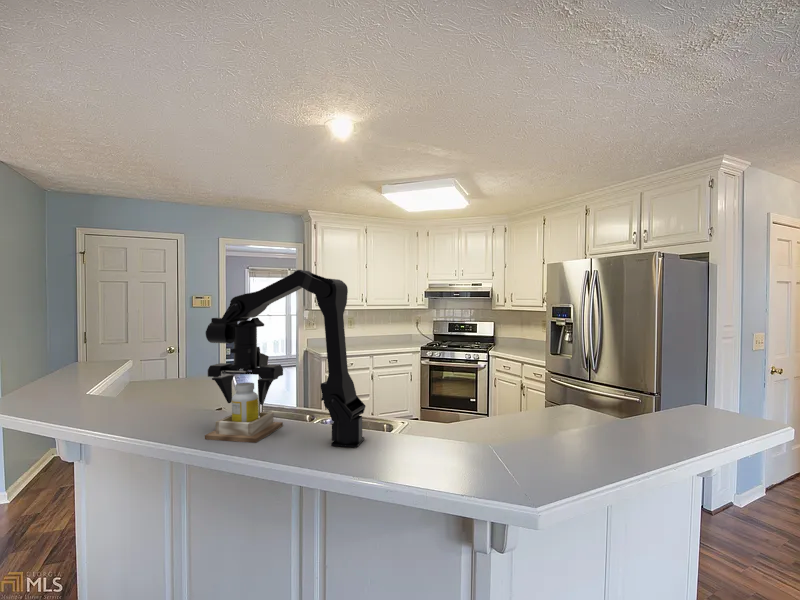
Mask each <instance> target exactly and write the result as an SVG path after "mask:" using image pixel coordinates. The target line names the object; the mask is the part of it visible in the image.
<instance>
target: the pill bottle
mask: <svg viewBox="0 0 800 600" xmlns="http://www.w3.org/2000/svg"><path fill="white" fill-rule="evenodd" d="M234 389H235V391H236V392H235V393H234V394H232V402H231V415H232V422H247V423H251V422H253V421H254V420H256V419H258V418H259V394H257V392H255V391H254V390H255V382H241V383H240V382H239V383H236V384H235V385H234Z"/></svg>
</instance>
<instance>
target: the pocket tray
mask: <svg viewBox="0 0 800 600" xmlns="http://www.w3.org/2000/svg"><path fill="white" fill-rule="evenodd" d="M283 426H284V422H281V421H274V412H271V411H270V412H269V411H261V412H259V417H258V419H256V420H254V421H253V422H251V423H247V422H232V414H230V415H228V416H225V417H223V418H221V419H218V420H217V421H215V429H214V430H213V431H210V432H209V433H206V434H204V440H207V441H209V440H210V441H223V442H224V441H226V442H227V441H228V442H237V443H238V442H240V443H241V442H242V443H256V444H257V443H258V442H259V441H261V440H263V439H264V438H266V437H268V436H269V435H271V434H272V433H274V432H276V431H277V430H279V429H280V428H282V427H283Z"/></svg>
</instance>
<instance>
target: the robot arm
mask: <svg viewBox="0 0 800 600" xmlns="http://www.w3.org/2000/svg"><path fill="white" fill-rule="evenodd" d="M302 289H304V290H305V291H306V292H309V293H311V294H313V295H315V298H316V303H317V305H318V308H319V311H320V312H321V313H322V316H323V323H324V334H325V335H324V336H325V346H326V359H327V369H328V371H327V372H328V373H327V379H326V381H324V382H321V383H320V391H321V398H320V401H321V402H322V401H323V405H324V407H325V409H327V410H328V414H329V416H330V419H331V420H330V421H332V423H331V441H332V442H331V443H330V445H331V446H333V447H345V448H359V446H360V445H361V444H362V443H363V441H365V437H364V436H363V415H362V414H364V413H365V409H366V407H367V406H366V405H365V402H364V401H362V400H361V399H360V398H359V397H358V395H357V392H356V387H355V384H354V383H355V382H354V381H353V379H352V377H351V375H350V373H349V370H348V369H349V368H348V359H347V358H348V357H347V345H346V334H345V322H344V321H345V320H344V313H345V310H346V306H347V304H348V293H349V292H348V291H349V290H348V289H349V288H348V286H347V284H346V283H345V282H344V281H343V280H341V279H335V278H327V277H324V276H320V275H318V274H315V273H313V272H311V271H310V270H303V269H297V270H295V271H293V272H292V273H290V274H289V275H287V276H285V277H283V278H281V279H279V280H277V281H276V282H273V283H271V284H268V285H267V286H265V287H263V288H261V289H260V290H258V291H257V290H256V291H253V292H248V293H243V294H240V295H237V296H234V297H232V298H230V301H229V302H230V303H229V305H228V306H227V307H228V308H227V309H226V310H225V312H224V314H223V315H222V317H211V320H210V321H211V322H210V323H209V324H208V326H207V327H206V330H205V337H206V340H207V341H208V342H209V343H211V344H228V345H229V344H233V348H230V353H231V354H233V363H227V362H226V363H225V362H224V363H223V362H220V363H216V364H212V365H209V366H208V369H207V377H209V378H211V380H212V381H214V382H215V383H216V385H217V386H218V387H219V389H220V391H221V392H222V395H223V397H224V398H225V400H226V402H227V404H232V397H233V387H232V386H233V379H234V377H235V375H258V376H259V379H257V390H258V391H257V392H258V403H259V405H260V406H262V405H263V404H264V403H265V400H266V398H267V394H268V392H269V390H270V388H271V385H272V383H273V382H274V381H275V380H277V379H279V377H282V376H284V368H283V366H282V365H281V364H268V363H269V356H268V355H266V354H265V353H262V352H261V348H260V346H258V329H257V328H258V327H265V323H263V322H262V320H260V318H259V317H258V316H259V315H260V314H262V313H263V312H264V311H266V309H267V308H268V307H269V306H270V305H271V304H274V302H275V303H276V302H277V301H279V300H281V299H283V298H286V297H287V296H289V295H291V294H293V293H295V292H298V291H299V290H302Z"/></svg>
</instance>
